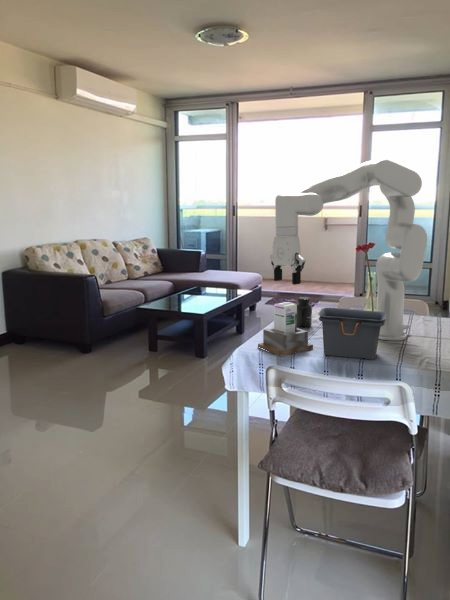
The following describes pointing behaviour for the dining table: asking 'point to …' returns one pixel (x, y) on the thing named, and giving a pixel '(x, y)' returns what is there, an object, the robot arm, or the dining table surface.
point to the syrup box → (285, 318)
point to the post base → (285, 342)
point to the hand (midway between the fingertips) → (287, 282)
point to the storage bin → (351, 332)
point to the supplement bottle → (304, 313)
